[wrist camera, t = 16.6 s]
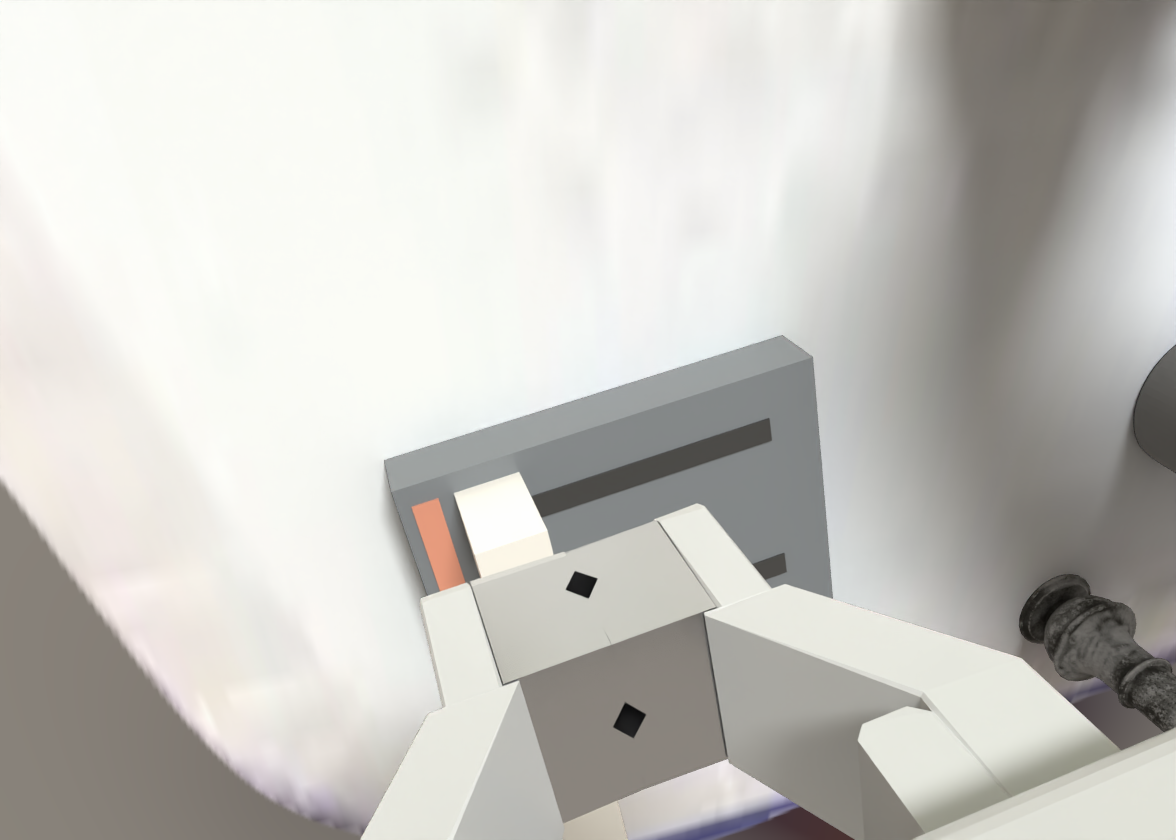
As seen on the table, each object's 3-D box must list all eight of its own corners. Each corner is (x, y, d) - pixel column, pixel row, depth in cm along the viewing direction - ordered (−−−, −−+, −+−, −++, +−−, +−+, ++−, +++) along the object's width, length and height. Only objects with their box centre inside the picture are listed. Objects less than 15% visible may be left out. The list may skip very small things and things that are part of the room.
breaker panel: (782, 335, 46) (872, 400, 39) (815, 665, 56) (890, 762, 50) (384, 460, 43) (405, 555, 36) (497, 786, 53) (530, 908, 46)
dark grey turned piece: (1023, 581, 59) (1183, 712, 48) (1100, 561, 60) (1272, 685, 50) (1008, 654, 61) (1158, 794, 51) (1083, 634, 63) (1243, 766, 52)
